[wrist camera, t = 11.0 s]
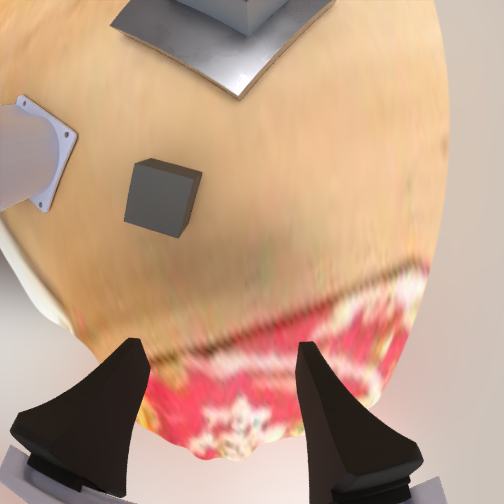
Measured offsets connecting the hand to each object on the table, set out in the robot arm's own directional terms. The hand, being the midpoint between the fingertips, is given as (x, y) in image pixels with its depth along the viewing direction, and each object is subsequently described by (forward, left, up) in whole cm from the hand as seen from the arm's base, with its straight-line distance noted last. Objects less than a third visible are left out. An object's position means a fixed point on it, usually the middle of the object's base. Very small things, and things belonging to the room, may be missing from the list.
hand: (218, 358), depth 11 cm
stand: (-12, +15, -10) cm, 22 cm away
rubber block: (-7, +1, -11) cm, 13 cm away
